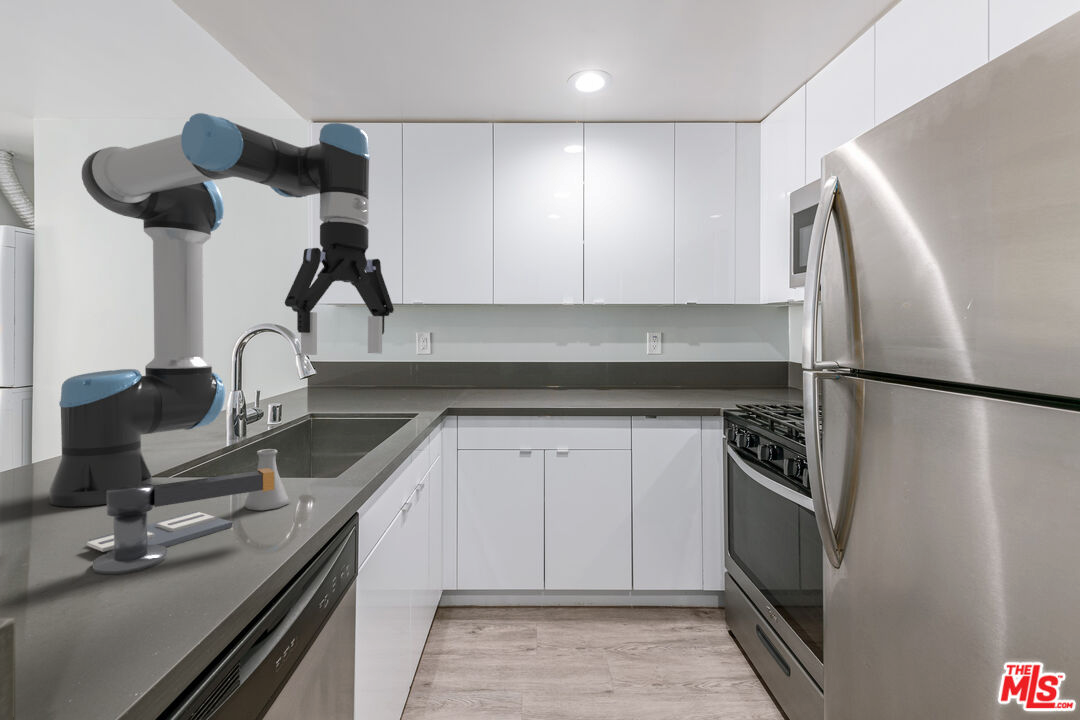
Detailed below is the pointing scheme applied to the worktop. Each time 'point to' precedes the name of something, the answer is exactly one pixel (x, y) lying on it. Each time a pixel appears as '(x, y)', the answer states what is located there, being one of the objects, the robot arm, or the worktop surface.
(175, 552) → the worktop surface
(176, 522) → the label board
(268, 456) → the flask
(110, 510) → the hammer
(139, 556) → the round pedestal stand
